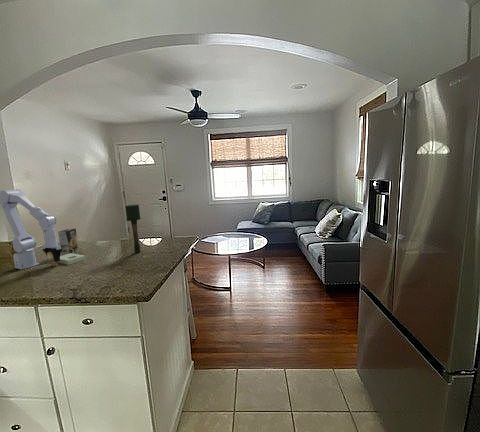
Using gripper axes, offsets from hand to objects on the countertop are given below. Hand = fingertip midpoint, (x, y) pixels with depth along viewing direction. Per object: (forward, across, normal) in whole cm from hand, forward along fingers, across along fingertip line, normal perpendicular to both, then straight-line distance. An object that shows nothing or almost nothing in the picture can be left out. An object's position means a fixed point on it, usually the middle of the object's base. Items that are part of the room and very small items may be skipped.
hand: (54, 260), depth 158 cm
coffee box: (+3, -16, +18) cm, 24 cm away
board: (+3, -1, +9) cm, 10 cm away
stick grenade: (+3, +26, +36) cm, 45 cm away
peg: (+3, 0, 0) cm, 3 cm away
